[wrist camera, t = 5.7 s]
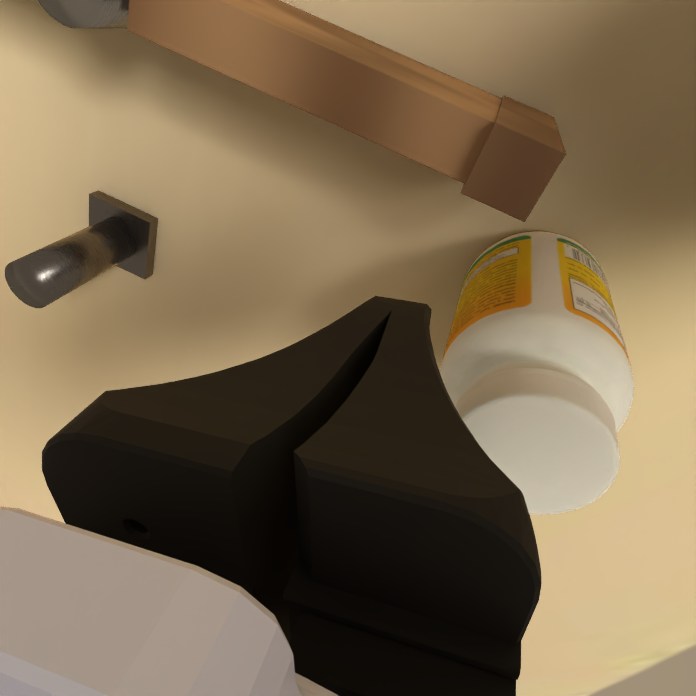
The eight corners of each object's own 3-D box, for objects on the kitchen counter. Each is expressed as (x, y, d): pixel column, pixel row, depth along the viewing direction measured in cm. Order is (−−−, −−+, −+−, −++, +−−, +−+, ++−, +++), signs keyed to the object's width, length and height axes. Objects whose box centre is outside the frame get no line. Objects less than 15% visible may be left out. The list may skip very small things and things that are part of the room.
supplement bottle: (622, 234, 18) (698, 395, 10) (584, 357, 20) (618, 555, 13) (470, 221, 19) (432, 354, 11) (454, 338, 22) (416, 507, 14)
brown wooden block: (221, 33, 18) (112, 34, 13) (229, -27, 17) (115, -48, 12) (524, 169, 17) (524, 221, 13) (553, 117, 16) (565, 154, 11)
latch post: (157, 218, 23) (61, 268, 18) (152, 274, 25) (63, 333, 20) (98, 190, 23) (-14, 233, 18) (97, 248, 25) (-4, 300, 20)
